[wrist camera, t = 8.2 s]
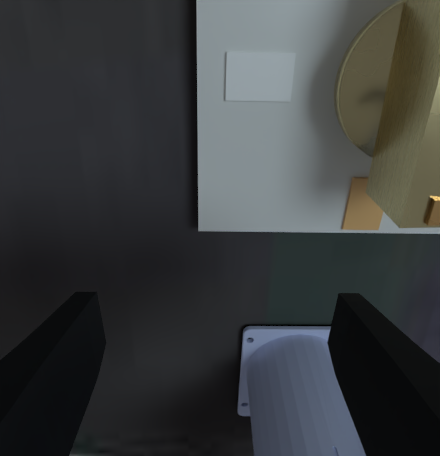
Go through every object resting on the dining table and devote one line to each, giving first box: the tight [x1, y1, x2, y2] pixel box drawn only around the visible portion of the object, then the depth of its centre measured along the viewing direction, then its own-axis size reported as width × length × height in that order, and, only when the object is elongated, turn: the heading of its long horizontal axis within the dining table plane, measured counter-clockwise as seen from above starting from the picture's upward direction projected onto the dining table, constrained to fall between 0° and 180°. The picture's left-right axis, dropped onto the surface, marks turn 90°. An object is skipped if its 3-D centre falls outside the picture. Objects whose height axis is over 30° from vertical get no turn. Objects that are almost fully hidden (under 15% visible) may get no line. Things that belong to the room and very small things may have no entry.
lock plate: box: [196, 0, 440, 234], centre depth 16 cm, size 16×18×2 cm
